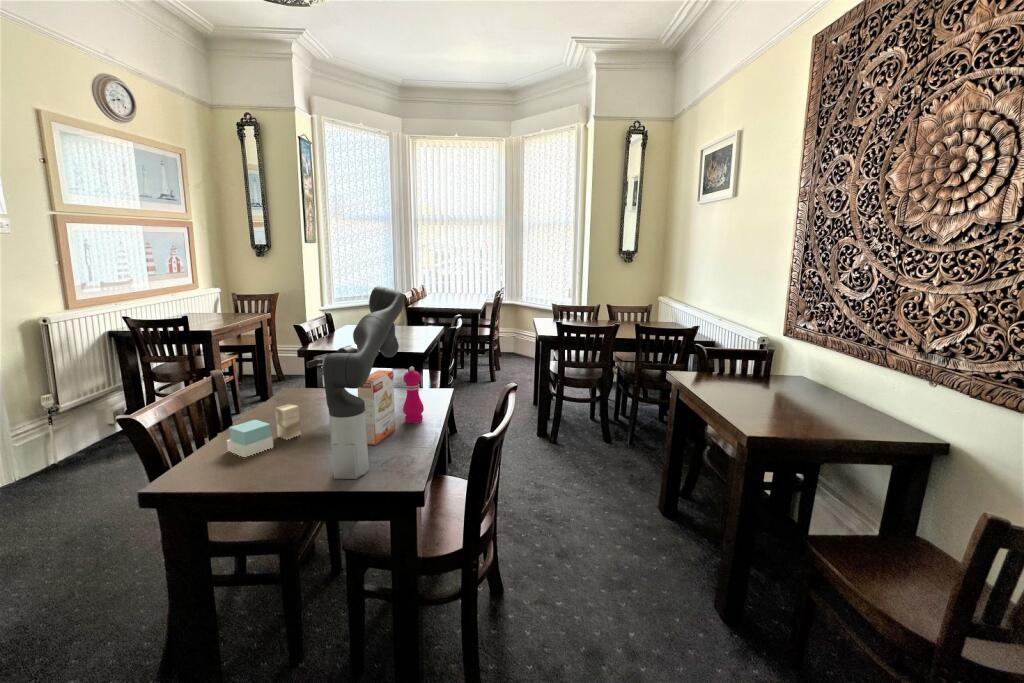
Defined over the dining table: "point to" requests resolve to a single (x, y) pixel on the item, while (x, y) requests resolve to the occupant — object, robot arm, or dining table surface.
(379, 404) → the cracker box
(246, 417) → the dining table surface
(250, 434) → the tower top
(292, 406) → the birch post
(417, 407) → the pepper mill
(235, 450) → the tower base
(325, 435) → the dining table surface
